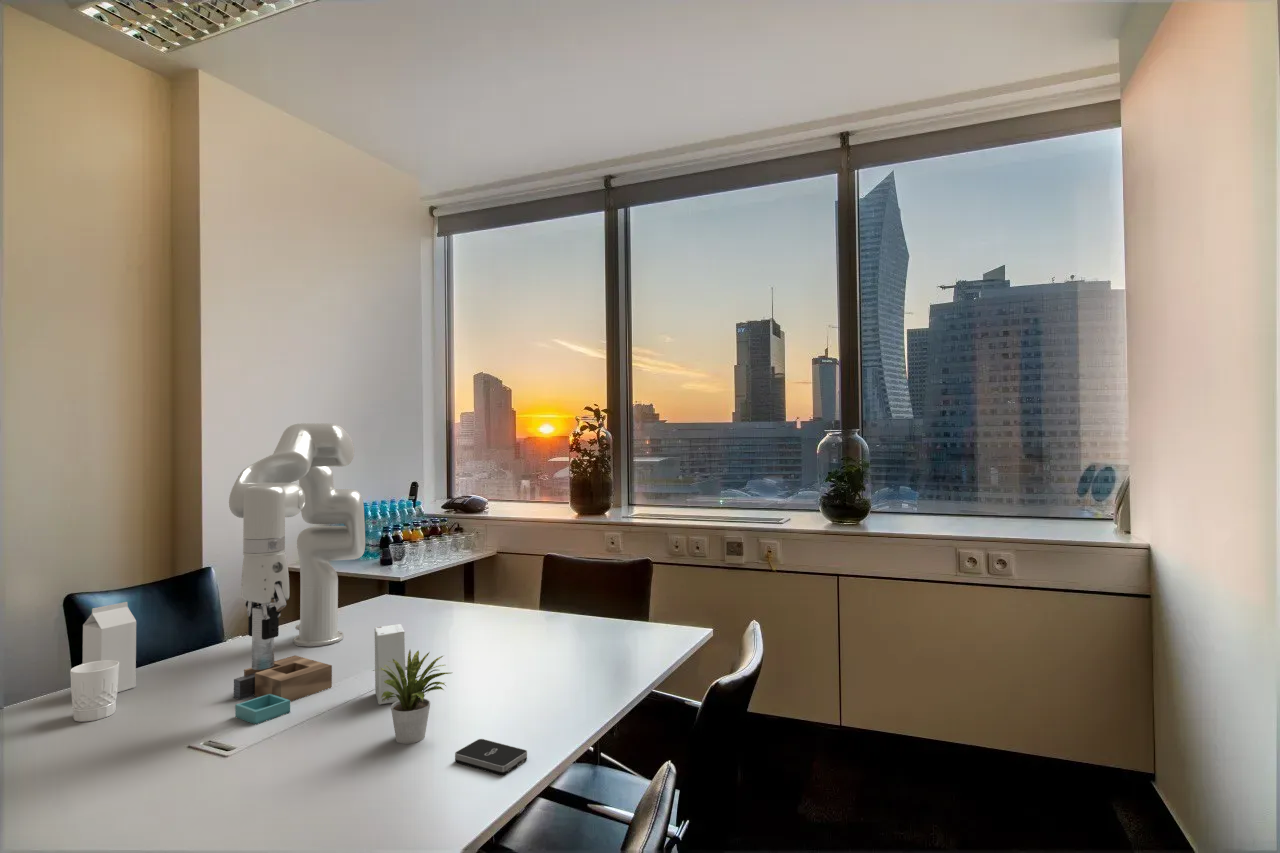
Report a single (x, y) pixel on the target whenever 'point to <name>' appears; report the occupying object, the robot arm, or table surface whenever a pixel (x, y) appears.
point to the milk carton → (112, 640)
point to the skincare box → (388, 659)
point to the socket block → (292, 678)
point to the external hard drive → (491, 756)
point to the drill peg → (261, 642)
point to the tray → (262, 708)
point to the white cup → (94, 690)
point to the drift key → (244, 686)
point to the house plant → (411, 699)
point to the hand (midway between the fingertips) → (263, 635)
